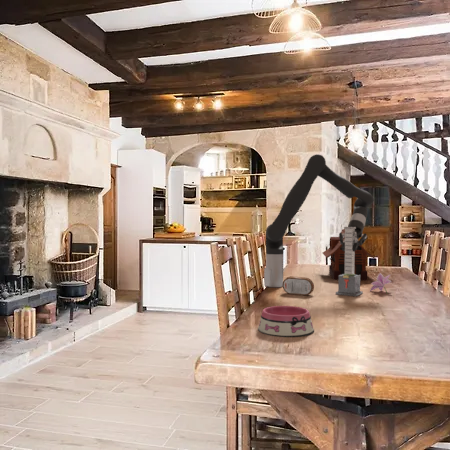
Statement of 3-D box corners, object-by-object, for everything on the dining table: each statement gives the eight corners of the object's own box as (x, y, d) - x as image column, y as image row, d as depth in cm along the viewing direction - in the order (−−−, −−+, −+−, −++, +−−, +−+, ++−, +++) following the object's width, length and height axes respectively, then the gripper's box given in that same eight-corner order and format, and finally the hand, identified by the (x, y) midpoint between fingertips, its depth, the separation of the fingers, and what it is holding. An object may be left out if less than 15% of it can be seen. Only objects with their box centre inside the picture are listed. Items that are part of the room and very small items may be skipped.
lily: (395, 293, 230) (387, 275, 234) (400, 287, 219) (391, 269, 223) (372, 300, 230) (365, 282, 234) (375, 295, 220) (368, 276, 223)
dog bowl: (275, 340, 141) (275, 318, 140) (248, 326, 158) (248, 306, 157) (325, 334, 148) (325, 313, 148) (294, 321, 165) (294, 302, 165)
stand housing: (355, 296, 214) (356, 276, 214) (335, 294, 220) (335, 274, 220) (362, 293, 223) (362, 274, 223) (342, 291, 229) (342, 272, 228)
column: (352, 279, 218) (353, 227, 218) (343, 278, 221) (344, 226, 220) (355, 278, 222) (356, 226, 221) (346, 277, 225) (347, 226, 224)
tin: (314, 295, 218) (314, 277, 218) (312, 296, 215) (312, 278, 215) (283, 292, 224) (283, 275, 224) (281, 293, 221) (281, 276, 221)
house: (321, 272, 301) (322, 228, 300) (366, 273, 297) (366, 229, 297) (326, 280, 266) (327, 230, 266) (376, 281, 263) (377, 231, 262)
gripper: (341, 219, 231) (332, 244, 221) (369, 219, 223) (361, 245, 213) (344, 229, 235) (335, 254, 226) (372, 230, 228) (364, 256, 218)
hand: (348, 250), depth 220 cm, fingers open, 4 cm apart
